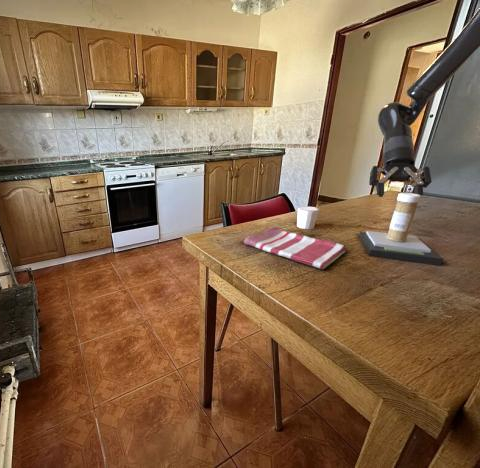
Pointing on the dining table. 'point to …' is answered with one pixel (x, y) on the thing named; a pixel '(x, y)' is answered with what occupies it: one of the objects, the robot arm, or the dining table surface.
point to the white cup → (307, 217)
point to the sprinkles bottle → (403, 216)
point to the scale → (399, 248)
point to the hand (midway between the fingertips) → (399, 196)
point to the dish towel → (297, 247)
